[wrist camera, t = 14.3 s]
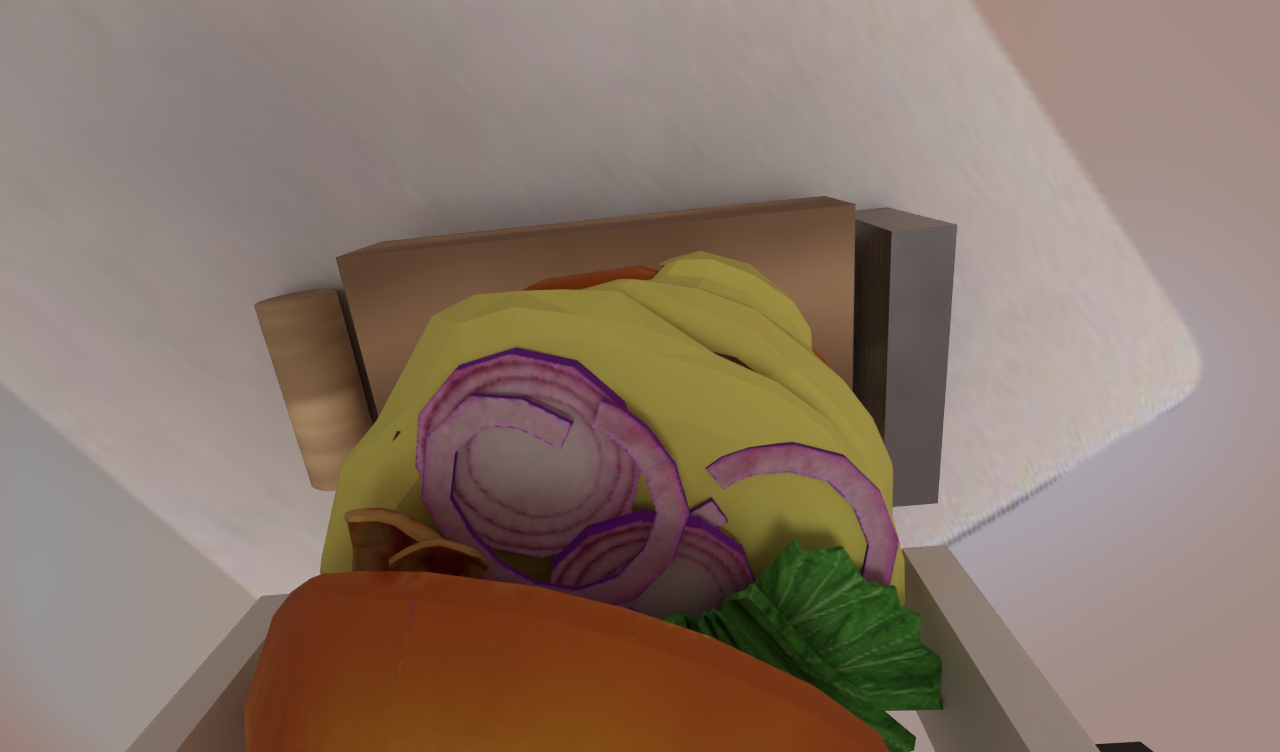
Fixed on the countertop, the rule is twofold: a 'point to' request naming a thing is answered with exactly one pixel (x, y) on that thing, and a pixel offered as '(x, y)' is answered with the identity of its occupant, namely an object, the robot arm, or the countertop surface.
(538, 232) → the board
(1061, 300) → the countertop surface
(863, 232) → the stop rail
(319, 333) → the cylinder
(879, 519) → the cheeseburger
